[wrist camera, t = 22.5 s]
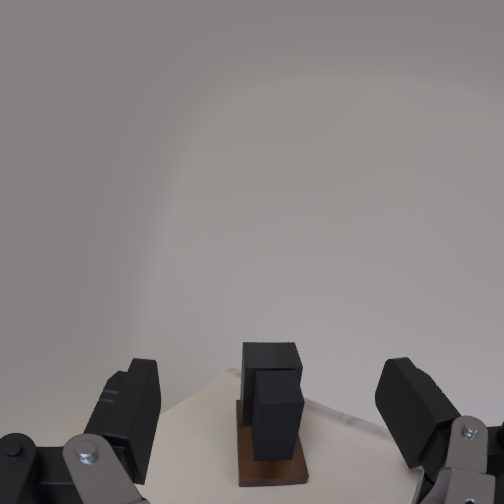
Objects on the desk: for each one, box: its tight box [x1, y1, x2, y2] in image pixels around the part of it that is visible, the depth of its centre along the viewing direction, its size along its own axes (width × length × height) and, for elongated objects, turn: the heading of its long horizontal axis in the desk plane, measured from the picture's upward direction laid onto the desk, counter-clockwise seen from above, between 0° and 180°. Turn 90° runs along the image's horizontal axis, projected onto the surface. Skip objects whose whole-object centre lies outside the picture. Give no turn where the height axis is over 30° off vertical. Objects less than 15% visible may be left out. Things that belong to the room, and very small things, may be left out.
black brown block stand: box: [236, 342, 309, 487], centre depth 31 cm, size 7×13×10 cm, turn 3°
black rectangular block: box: [251, 370, 304, 461], centre depth 30 cm, size 4×5×9 cm
